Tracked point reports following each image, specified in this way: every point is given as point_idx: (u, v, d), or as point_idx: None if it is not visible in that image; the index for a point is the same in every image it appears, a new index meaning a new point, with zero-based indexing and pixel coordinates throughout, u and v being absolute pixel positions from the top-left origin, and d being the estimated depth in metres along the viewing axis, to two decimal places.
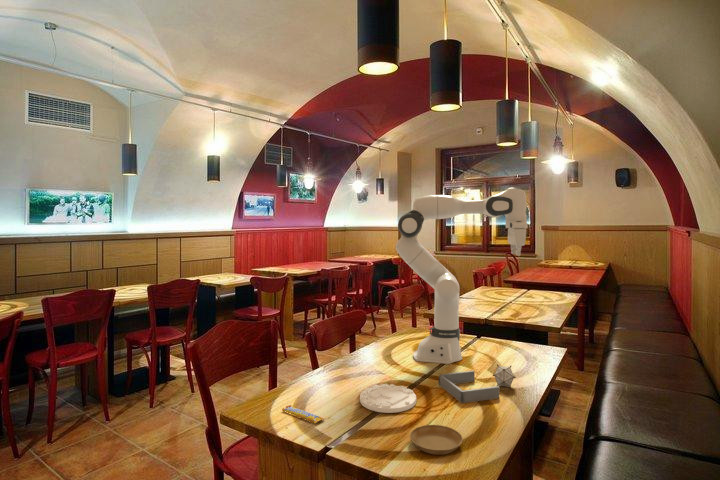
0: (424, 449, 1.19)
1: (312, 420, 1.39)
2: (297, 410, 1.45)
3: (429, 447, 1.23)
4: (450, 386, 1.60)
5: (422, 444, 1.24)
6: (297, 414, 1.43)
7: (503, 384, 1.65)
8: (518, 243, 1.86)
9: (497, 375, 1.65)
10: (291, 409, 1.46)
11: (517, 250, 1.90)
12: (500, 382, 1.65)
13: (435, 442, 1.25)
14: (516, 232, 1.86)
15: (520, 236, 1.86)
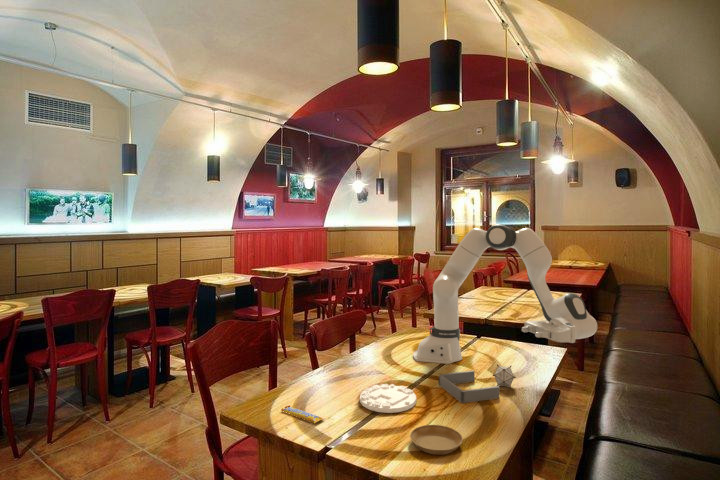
0: (424, 449, 1.19)
1: (312, 420, 1.39)
2: (296, 410, 1.45)
3: (429, 447, 1.23)
4: (450, 386, 1.60)
5: (422, 445, 1.24)
6: (296, 414, 1.43)
7: (503, 384, 1.65)
8: (559, 335, 1.61)
9: (497, 375, 1.65)
10: (290, 409, 1.46)
11: (543, 333, 1.65)
12: (500, 382, 1.65)
13: (435, 442, 1.25)
14: (569, 331, 1.63)
15: (566, 336, 1.62)
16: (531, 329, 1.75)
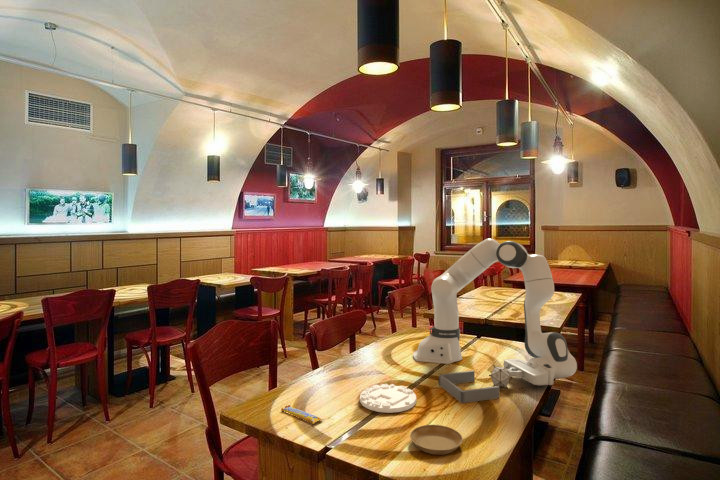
0: (424, 449, 1.19)
1: (310, 420, 1.38)
2: (296, 410, 1.45)
3: (429, 447, 1.23)
4: (450, 386, 1.60)
5: (422, 444, 1.24)
6: (296, 414, 1.43)
7: (499, 384, 1.64)
8: (537, 378, 1.59)
9: (493, 375, 1.65)
10: (290, 409, 1.46)
11: (515, 372, 1.66)
12: (496, 382, 1.64)
13: (435, 442, 1.25)
14: (547, 374, 1.61)
15: (543, 379, 1.60)
16: None
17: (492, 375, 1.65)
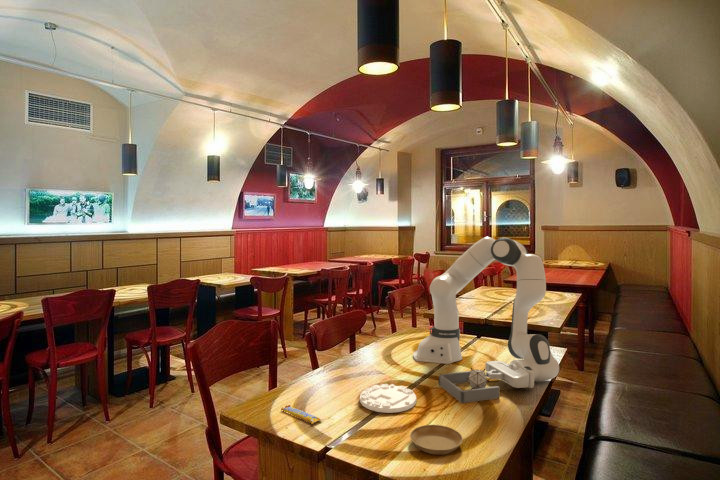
0: (424, 449, 1.19)
1: (309, 420, 1.38)
2: (296, 410, 1.45)
3: (429, 447, 1.23)
4: (450, 386, 1.60)
5: (422, 445, 1.24)
6: (295, 414, 1.43)
7: (477, 388, 1.62)
8: (516, 380, 1.57)
9: (471, 379, 1.62)
10: (290, 409, 1.46)
11: (496, 375, 1.64)
12: (474, 386, 1.61)
13: (435, 442, 1.25)
14: (527, 376, 1.58)
15: (523, 381, 1.58)
16: None
17: (469, 378, 1.62)
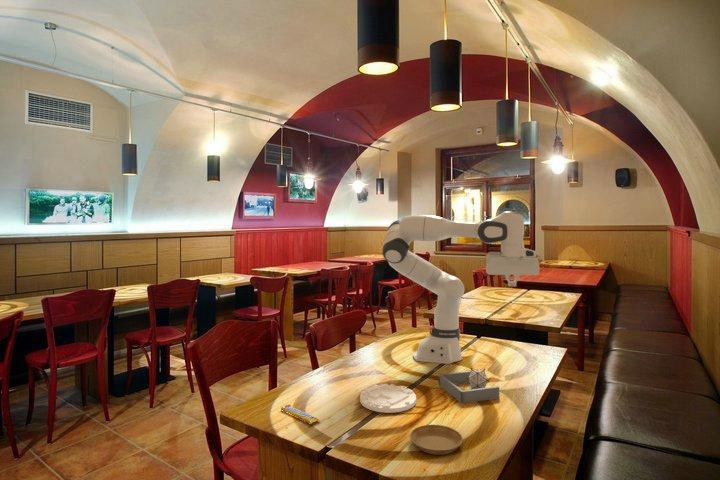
0: (424, 449, 1.19)
1: (307, 421, 1.38)
2: (295, 410, 1.45)
3: (429, 447, 1.23)
4: (450, 386, 1.60)
5: (422, 445, 1.24)
6: (294, 414, 1.43)
7: (477, 388, 1.62)
8: (538, 272, 1.73)
9: (471, 379, 1.62)
10: (289, 409, 1.46)
11: None
12: (474, 386, 1.61)
13: (435, 442, 1.25)
14: (538, 261, 1.72)
15: None
16: None
17: (469, 378, 1.62)
